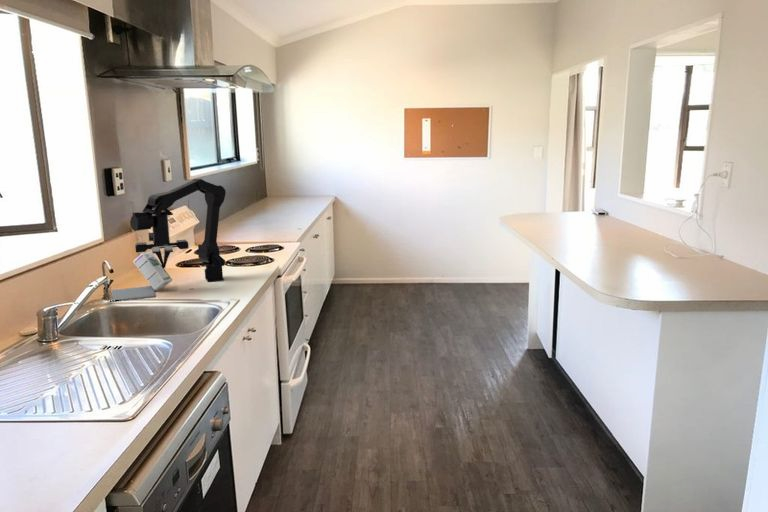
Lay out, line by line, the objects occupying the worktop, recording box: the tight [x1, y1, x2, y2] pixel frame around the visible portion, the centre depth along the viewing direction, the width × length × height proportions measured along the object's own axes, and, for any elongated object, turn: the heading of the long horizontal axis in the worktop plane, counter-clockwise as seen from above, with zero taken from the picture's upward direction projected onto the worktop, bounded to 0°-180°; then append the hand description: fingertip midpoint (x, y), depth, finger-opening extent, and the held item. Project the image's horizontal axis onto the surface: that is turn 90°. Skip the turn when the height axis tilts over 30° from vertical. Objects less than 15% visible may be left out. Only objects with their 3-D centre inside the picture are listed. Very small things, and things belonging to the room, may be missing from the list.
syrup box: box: [132, 251, 173, 291], centre depth 216 cm, size 6×6×14 cm
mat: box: [107, 285, 156, 302], centre depth 211 cm, size 16×16×1 cm
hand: (163, 267), depth 214 cm, fingers closed
